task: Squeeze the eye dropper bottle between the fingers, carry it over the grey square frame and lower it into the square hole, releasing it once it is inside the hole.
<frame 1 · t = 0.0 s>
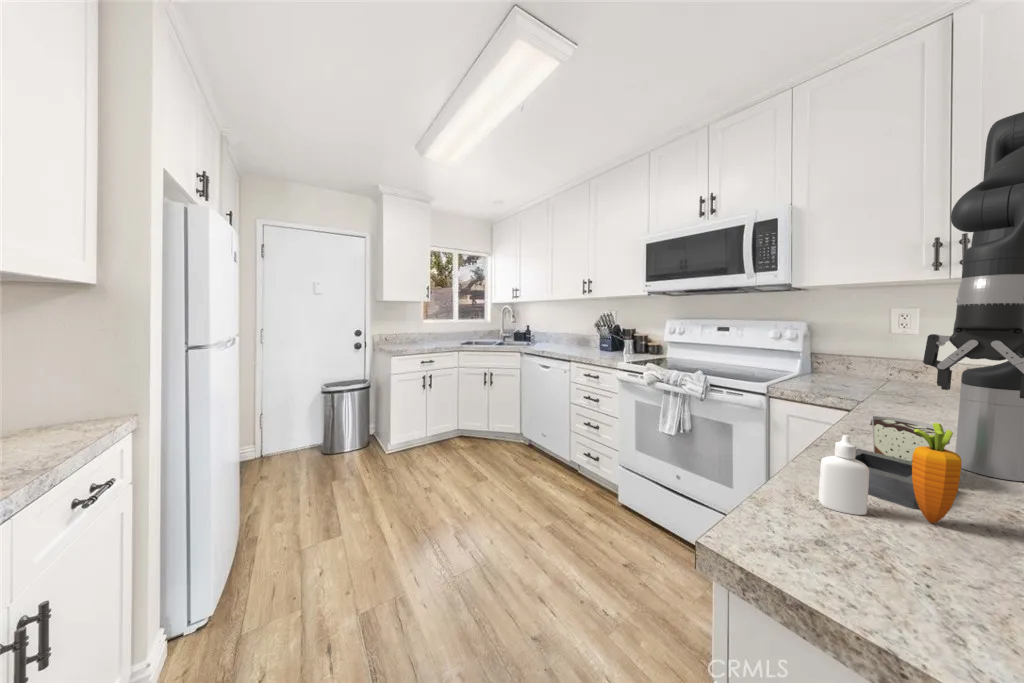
hand: (982, 393, 63), 17 cm above the countertop, tool pointing down, fingers open, 8 cm apart
carrot: (931, 524, 53), on the countertop
eye dropper bottle: (841, 509, 57), on the countertop
grey square frame: (881, 485, 65), on the countertop
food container: (913, 474, 70), on the countertop
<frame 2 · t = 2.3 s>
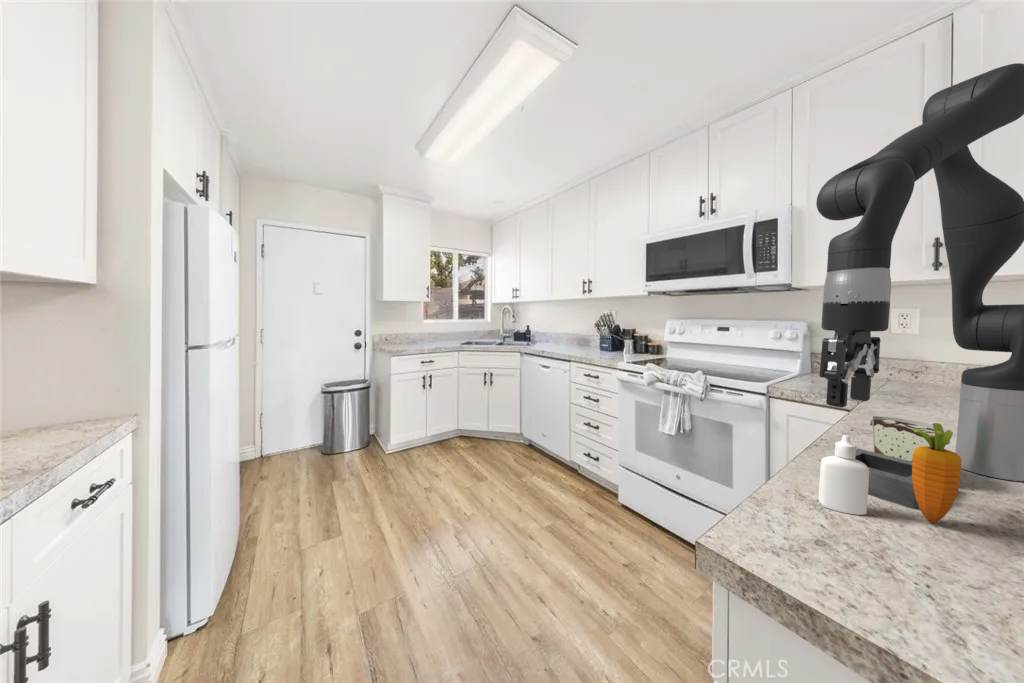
hand: (848, 403, 56), 17 cm above the countertop, tool pointing down, fingers open, 8 cm apart
nothing on the countertop moved.
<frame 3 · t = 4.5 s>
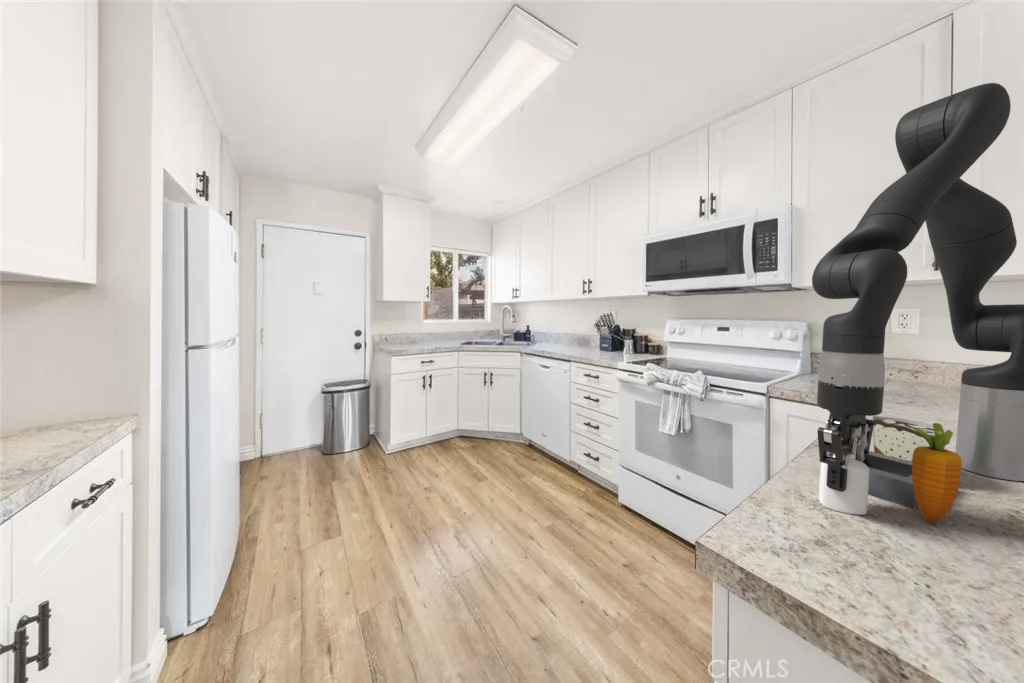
hand: (843, 485, 57), 4 cm above the countertop, tool pointing down, fingers closed on eye dropper bottle, 4 cm apart
eye dropper bottle: (841, 509, 57), on the countertop, touching gripper
everything else where it was.
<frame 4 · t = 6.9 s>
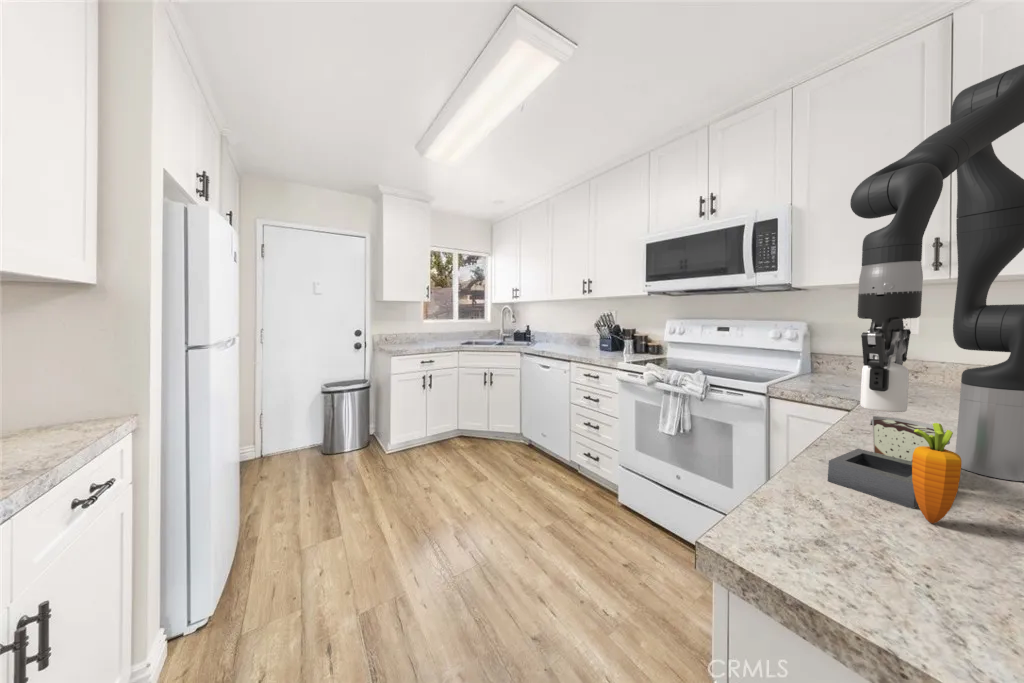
hand: (884, 388, 62), 18 cm above the countertop, tool pointing down, fingers closed on eye dropper bottle, 4 cm apart
eye dropper bottle: (882, 410, 62), point 14 cm above the countertop, touching gripper
everything else where it was.
when the fingers open (6 cm above the countertop, at t = 9.5 s): eye dropper bottle drops 2 cm, resting in grey square frame.
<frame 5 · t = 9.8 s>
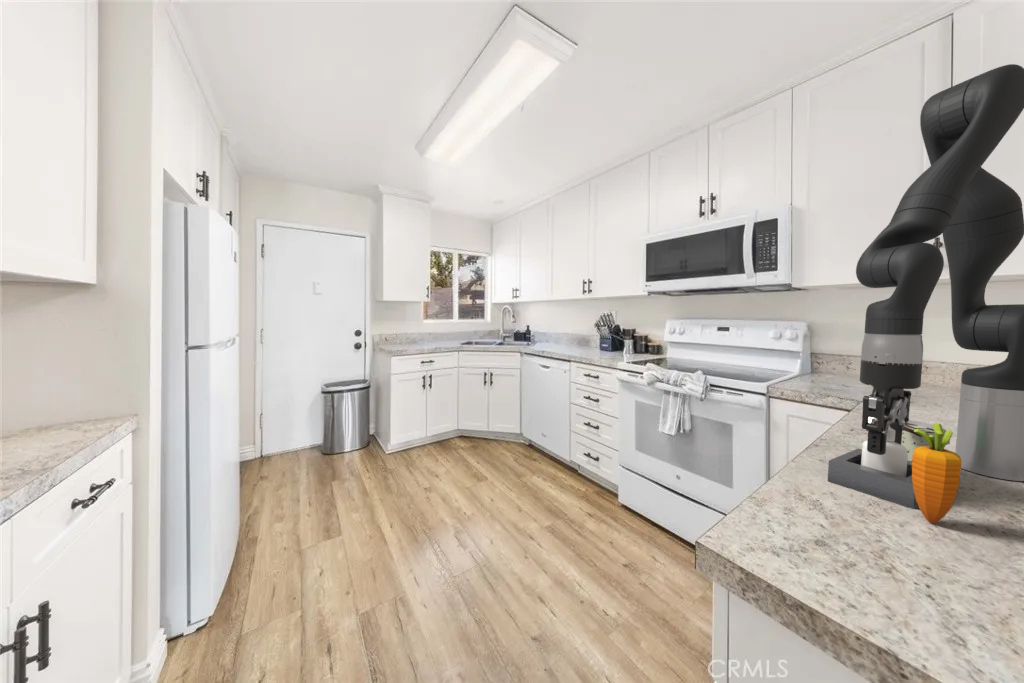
hand: (884, 449, 64), 7 cm above the countertop, tool pointing down, fingers open, 7 cm apart
eye dropper bottle: (881, 486, 65), resting in grey square frame
everything else where it was.
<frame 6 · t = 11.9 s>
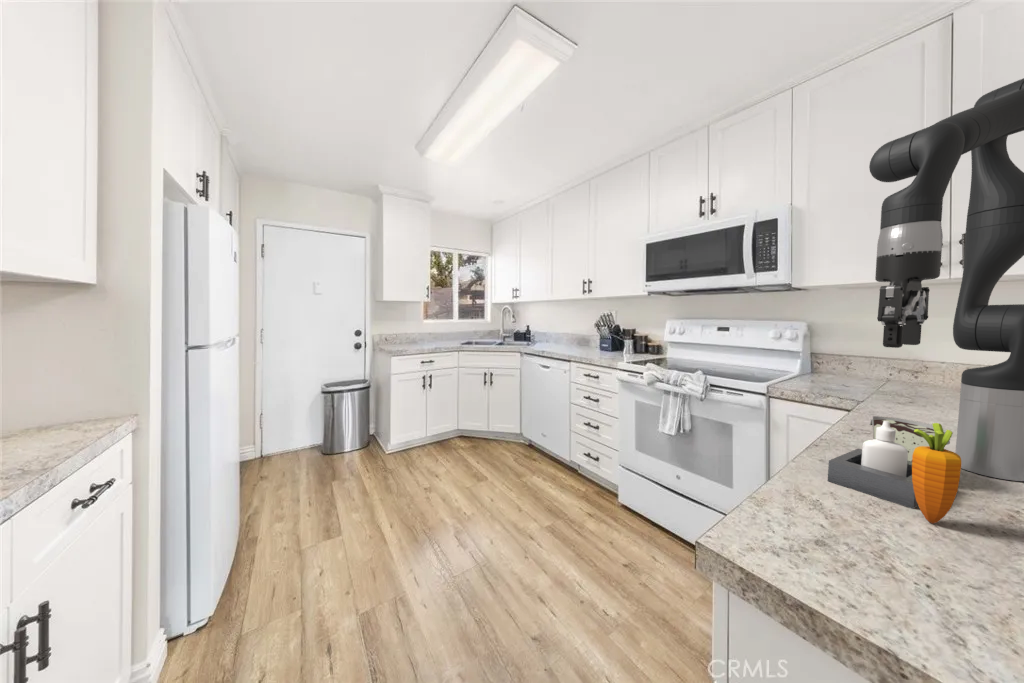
hand: (901, 346, 62), 26 cm above the countertop, tool pointing down, fingers open, 8 cm apart
nothing on the countertop moved.
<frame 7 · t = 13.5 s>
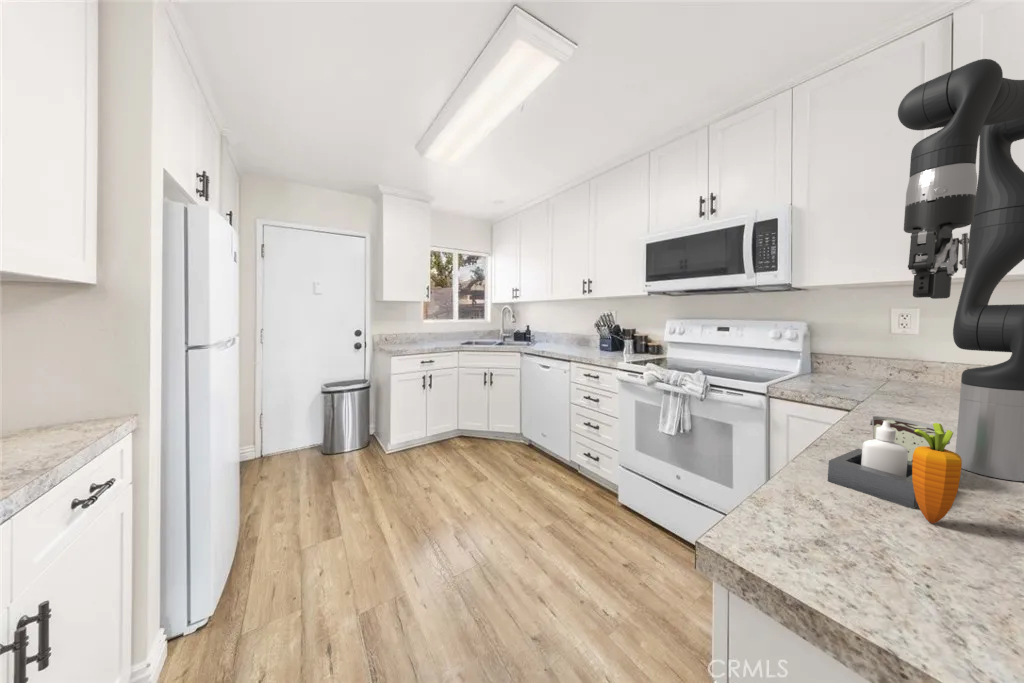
hand: (931, 297, 60), 34 cm above the countertop, tool pointing down, fingers open, 8 cm apart
nothing on the countertop moved.
at the end: eye dropper bottle 0.0 cm off-centre on the grey square frame, point 0.0 cm above the grey square frame's base; eye dropper bottle tilted 0°; the gripper is holding nothing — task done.
